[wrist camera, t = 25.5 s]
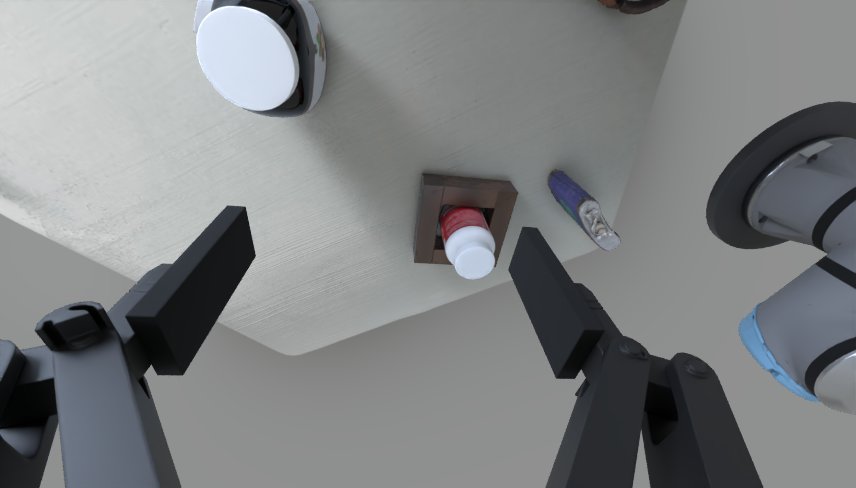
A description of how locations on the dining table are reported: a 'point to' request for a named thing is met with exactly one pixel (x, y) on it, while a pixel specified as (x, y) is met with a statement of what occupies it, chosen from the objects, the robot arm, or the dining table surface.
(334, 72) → the dining table surface
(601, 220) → the flask
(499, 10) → the dining table surface
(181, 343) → the robot arm
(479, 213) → the pill bottle
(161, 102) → the dining table surface
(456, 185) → the socket base
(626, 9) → the pottery mug
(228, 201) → the dining table surface
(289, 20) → the spread jar
